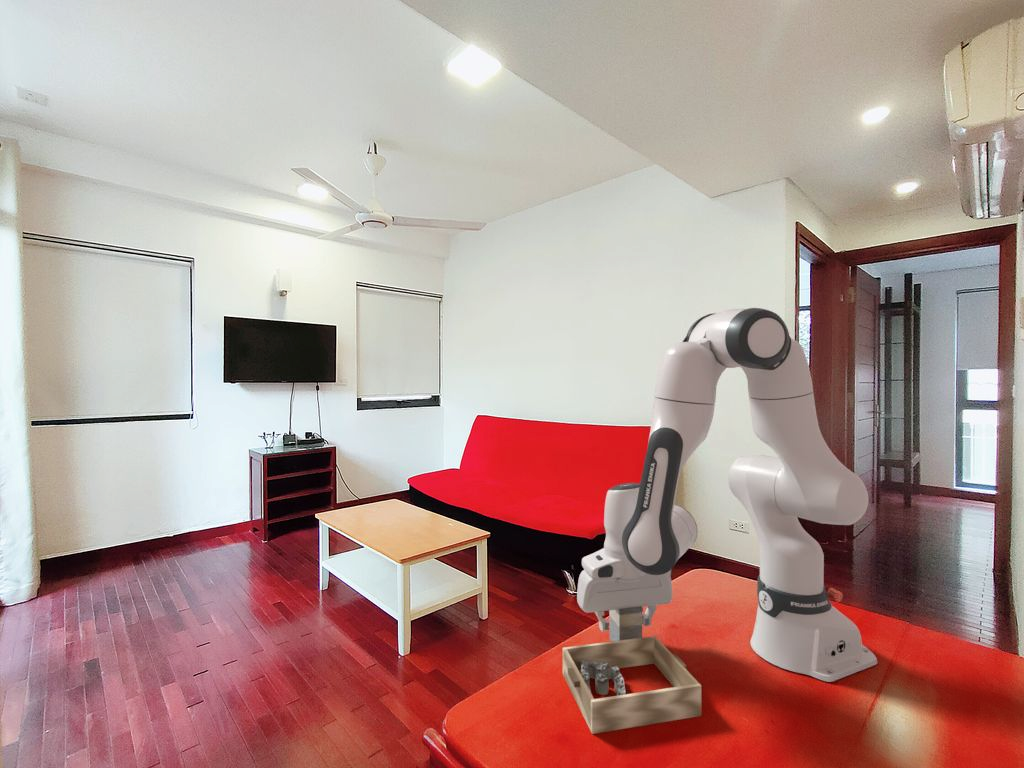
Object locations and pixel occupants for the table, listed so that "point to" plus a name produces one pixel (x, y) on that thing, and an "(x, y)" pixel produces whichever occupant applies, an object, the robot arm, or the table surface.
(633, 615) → the tin
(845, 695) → the table surface
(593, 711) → the tote
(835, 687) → the table surface
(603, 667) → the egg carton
